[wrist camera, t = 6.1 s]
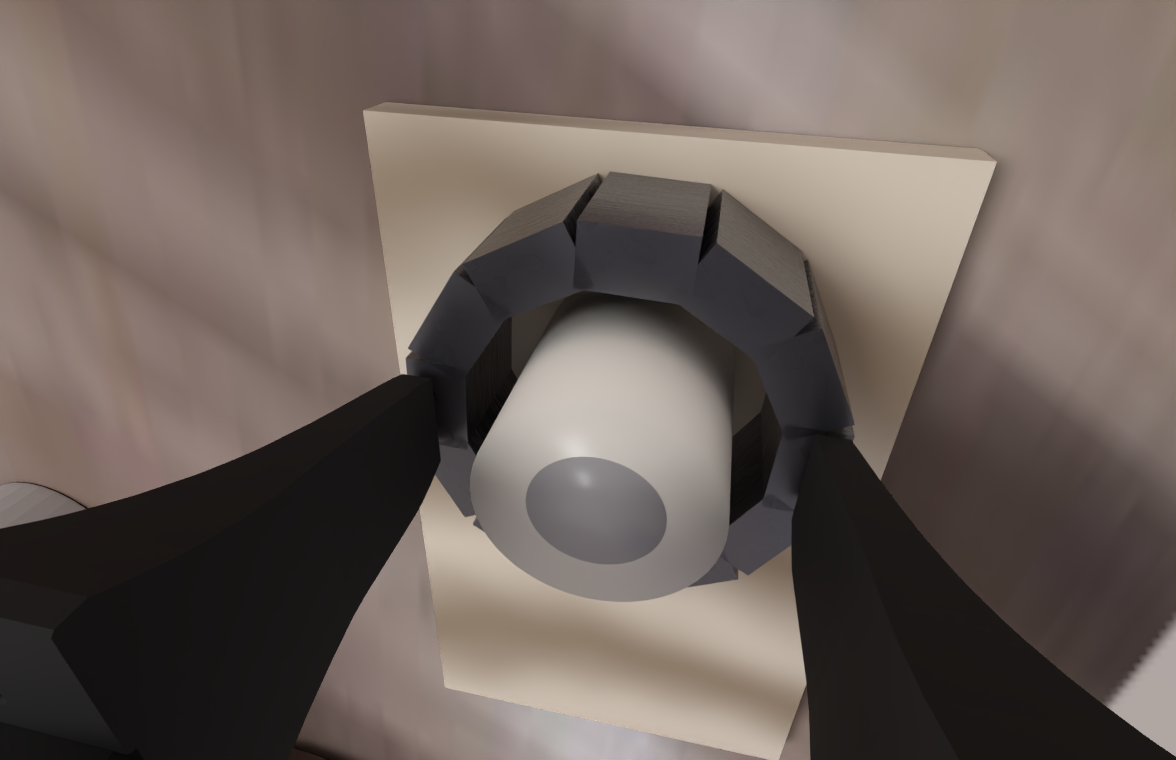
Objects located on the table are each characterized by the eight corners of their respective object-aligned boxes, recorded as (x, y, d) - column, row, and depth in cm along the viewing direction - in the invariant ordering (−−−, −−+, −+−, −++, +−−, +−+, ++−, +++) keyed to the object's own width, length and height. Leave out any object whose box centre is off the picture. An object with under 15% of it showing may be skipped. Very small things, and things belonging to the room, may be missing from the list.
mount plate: (777, 733, 23) (778, 761, 22) (455, 663, 25) (445, 687, 24) (980, 149, 12) (997, 162, 11) (385, 101, 14) (362, 110, 13)
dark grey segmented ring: (668, 547, 18) (656, 640, 15) (408, 375, 17) (348, 446, 14) (919, 342, 13) (959, 427, 11) (588, 84, 12) (548, 114, 10)
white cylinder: (655, 466, 17) (624, 635, 12) (511, 369, 16) (428, 513, 12) (777, 352, 14) (788, 514, 10) (614, 232, 13) (555, 352, 9)
